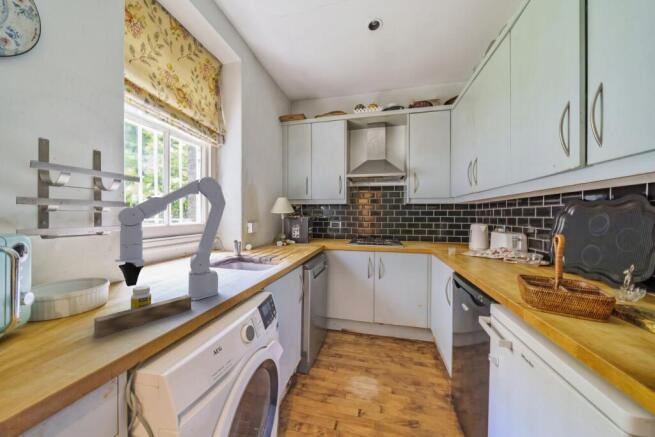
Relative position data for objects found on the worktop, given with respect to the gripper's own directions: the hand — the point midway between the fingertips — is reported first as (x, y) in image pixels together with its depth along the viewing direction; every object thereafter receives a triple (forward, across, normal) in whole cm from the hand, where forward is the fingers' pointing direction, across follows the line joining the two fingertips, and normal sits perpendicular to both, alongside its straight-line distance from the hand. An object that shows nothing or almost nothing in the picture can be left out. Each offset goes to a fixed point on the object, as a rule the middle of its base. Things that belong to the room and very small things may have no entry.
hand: (131, 285), depth 78 cm
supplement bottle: (+7, +12, -2) cm, 14 cm away
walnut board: (+6, +17, -2) cm, 19 cm away
